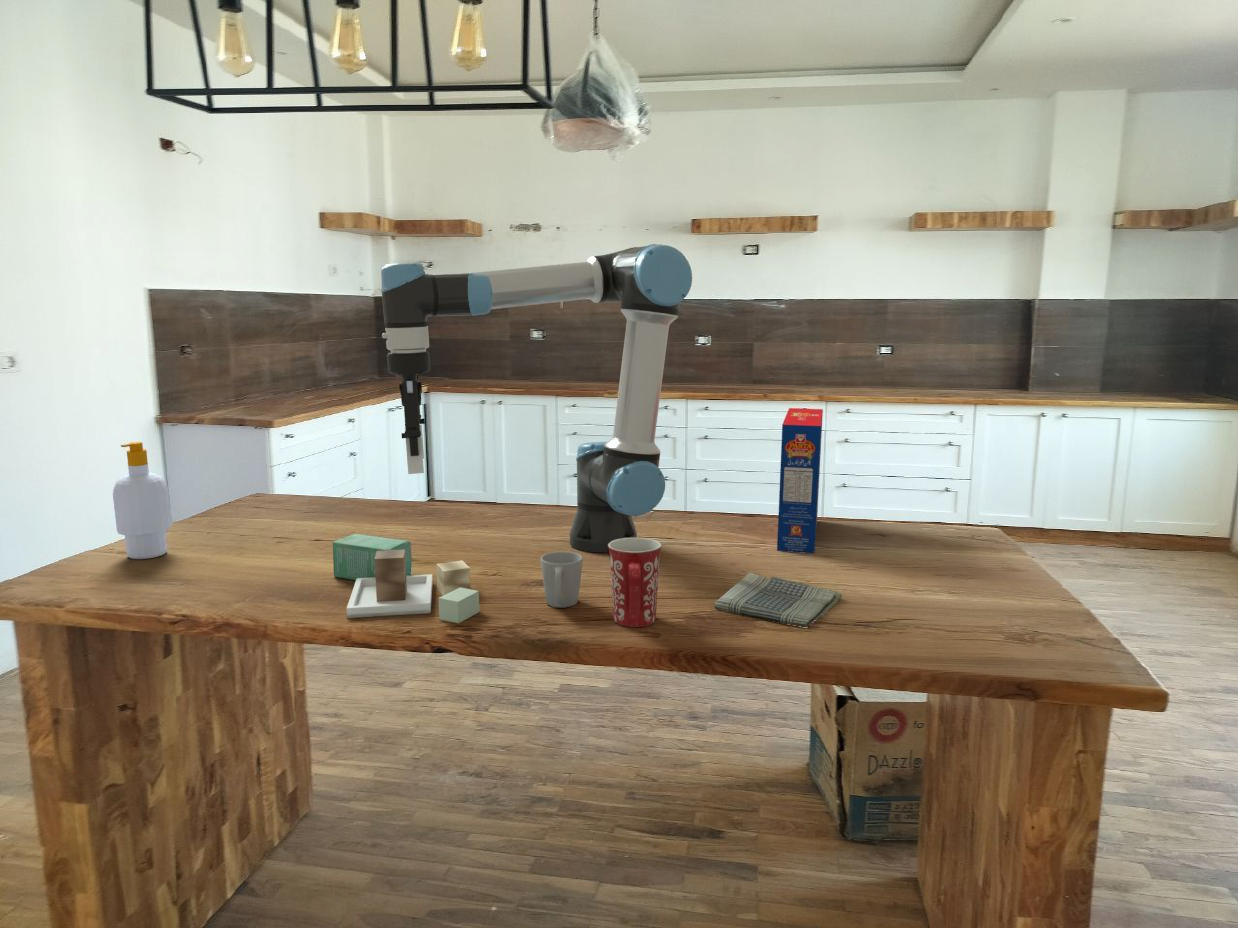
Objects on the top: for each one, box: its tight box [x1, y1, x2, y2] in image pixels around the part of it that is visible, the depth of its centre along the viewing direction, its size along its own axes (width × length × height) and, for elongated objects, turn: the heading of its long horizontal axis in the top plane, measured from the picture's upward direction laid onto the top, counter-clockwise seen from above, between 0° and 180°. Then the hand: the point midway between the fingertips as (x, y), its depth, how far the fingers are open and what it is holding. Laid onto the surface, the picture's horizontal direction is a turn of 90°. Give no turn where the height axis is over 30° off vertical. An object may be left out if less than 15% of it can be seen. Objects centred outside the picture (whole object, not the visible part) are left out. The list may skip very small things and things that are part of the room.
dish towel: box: [713, 572, 843, 627], centre depth 155 cm, size 19×18×3 cm
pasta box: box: [776, 407, 824, 554], centre depth 196 cm, size 28×8×28 cm, turn 166°
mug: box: [608, 537, 663, 628], centre depth 143 cm, size 13×9×14 cm
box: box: [332, 533, 413, 581], centre depth 168 cm, size 7×14×8 cm, turn 70°
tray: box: [346, 573, 434, 619], centre depth 155 cm, size 14×16×2 cm
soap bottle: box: [112, 441, 173, 560], centre depth 179 cm, size 10×10×24 cm
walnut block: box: [375, 550, 407, 602], centre depth 155 cm, size 5×5×8 cm
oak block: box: [435, 560, 471, 596], centre depth 160 cm, size 5×5×5 cm
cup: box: [540, 551, 584, 609], centre depth 153 cm, size 8×10×8 cm
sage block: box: [438, 587, 480, 624], centre depth 148 cm, size 6×4×4 cm, turn 153°
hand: (416, 465), depth 159 cm, fingers open, 13 cm apart
